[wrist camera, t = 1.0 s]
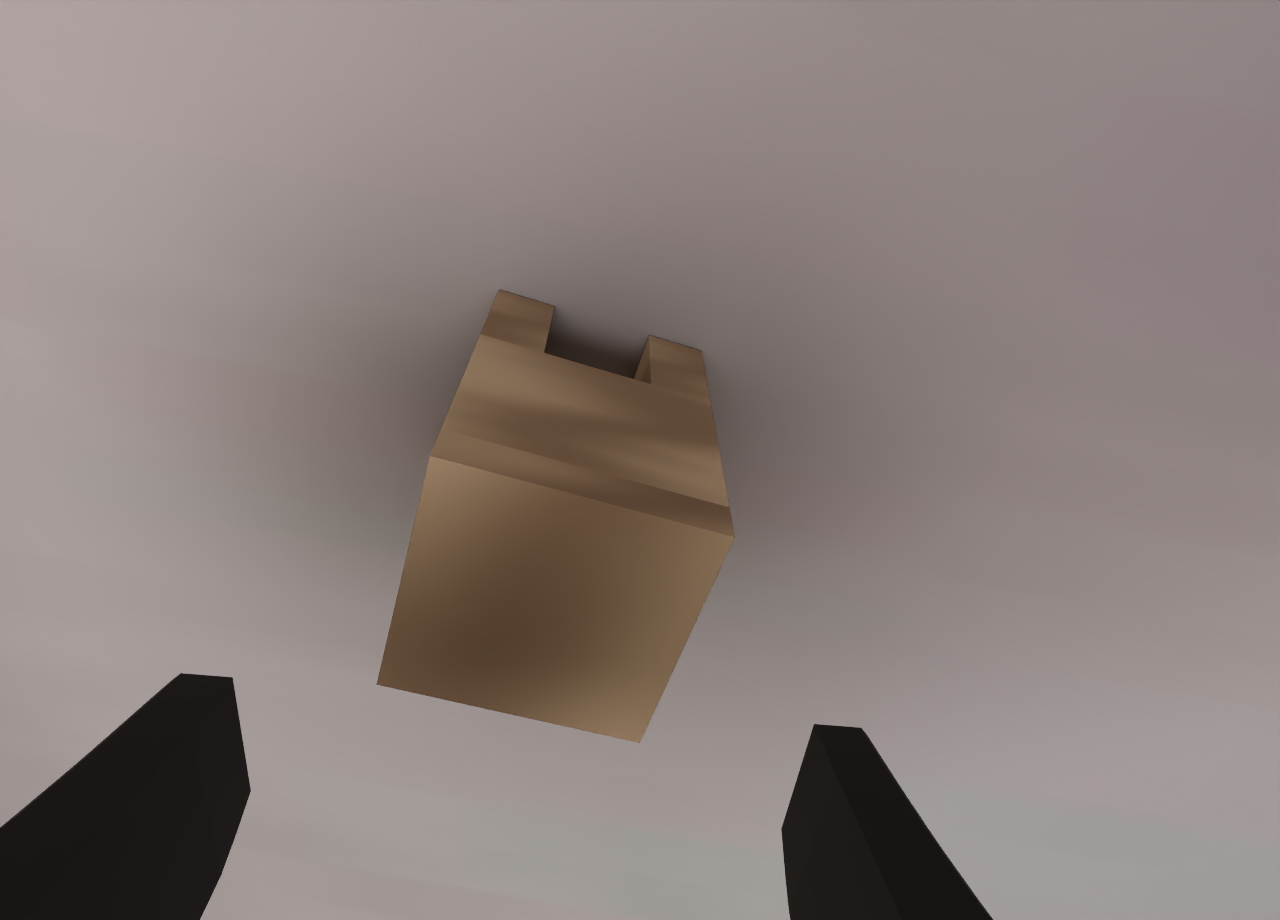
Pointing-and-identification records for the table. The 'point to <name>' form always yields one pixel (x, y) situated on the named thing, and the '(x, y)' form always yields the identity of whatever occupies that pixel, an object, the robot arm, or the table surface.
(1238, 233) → the table surface
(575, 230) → the table surface
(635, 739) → the notched wooden block
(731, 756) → the table surface
